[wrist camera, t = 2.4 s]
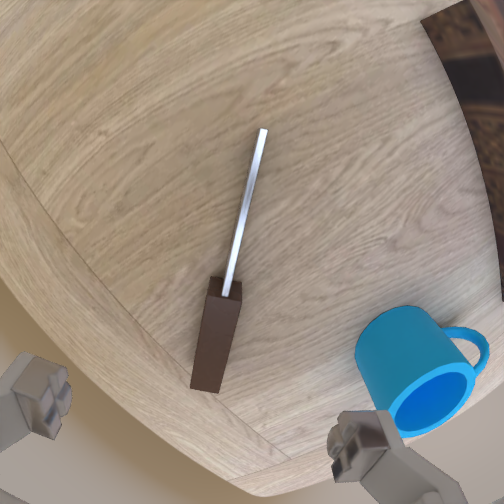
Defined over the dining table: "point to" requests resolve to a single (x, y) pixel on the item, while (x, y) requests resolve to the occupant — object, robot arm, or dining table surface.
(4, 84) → the dining table surface
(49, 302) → the dining table surface
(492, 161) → the book
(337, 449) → the robot arm
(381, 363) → the mug
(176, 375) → the dining table surface
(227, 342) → the butter knife
